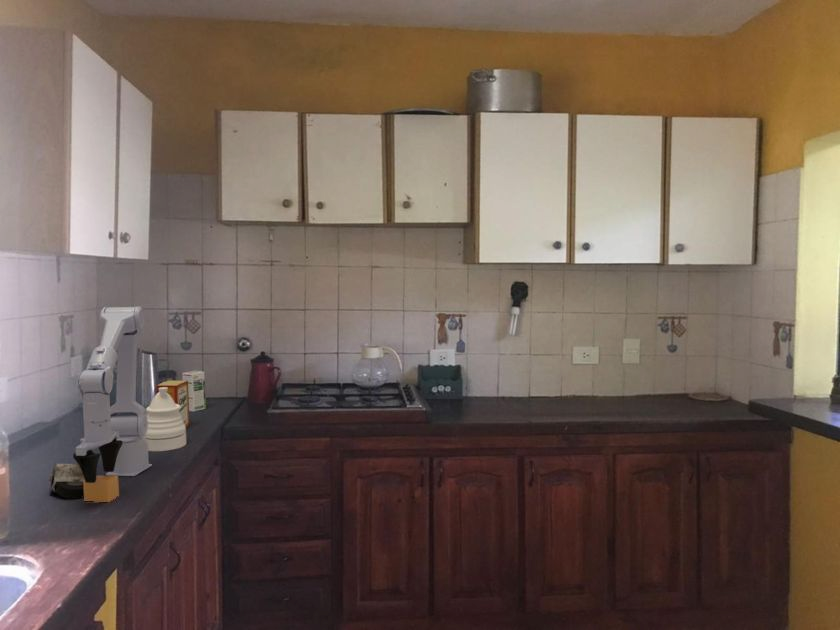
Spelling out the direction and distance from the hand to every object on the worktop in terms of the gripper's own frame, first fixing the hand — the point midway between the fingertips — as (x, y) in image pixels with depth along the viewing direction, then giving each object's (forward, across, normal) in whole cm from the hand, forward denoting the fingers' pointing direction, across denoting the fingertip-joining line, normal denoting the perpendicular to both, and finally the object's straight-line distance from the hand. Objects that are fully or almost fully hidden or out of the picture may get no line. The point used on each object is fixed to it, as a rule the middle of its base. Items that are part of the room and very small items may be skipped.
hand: (100, 476), depth 160 cm
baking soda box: (+6, -65, -14) cm, 66 cm away
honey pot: (+6, -46, -8) cm, 47 cm away
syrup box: (+6, -94, -20) cm, 96 cm away
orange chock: (+5, 0, 0) cm, 5 cm away
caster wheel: (+6, -4, -10) cm, 12 cm away
